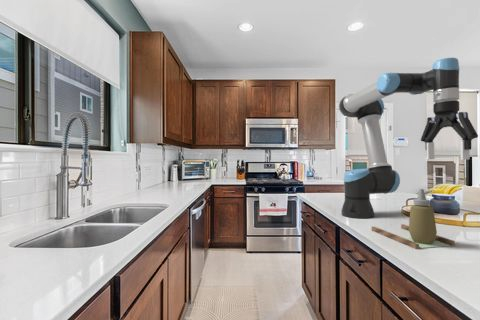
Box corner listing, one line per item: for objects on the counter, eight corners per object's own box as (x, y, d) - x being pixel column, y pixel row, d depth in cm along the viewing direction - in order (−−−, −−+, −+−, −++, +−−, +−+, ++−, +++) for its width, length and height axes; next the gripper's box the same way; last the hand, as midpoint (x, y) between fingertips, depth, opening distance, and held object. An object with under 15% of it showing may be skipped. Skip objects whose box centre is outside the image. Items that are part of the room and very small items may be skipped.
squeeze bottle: (443, 245, 85) (442, 190, 85) (418, 245, 85) (417, 191, 85) (426, 237, 93) (425, 187, 93) (403, 238, 93) (402, 188, 93)
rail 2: (401, 228, 107) (401, 224, 107) (403, 228, 107) (403, 224, 107) (451, 245, 85) (451, 241, 85) (454, 245, 85) (454, 241, 85)
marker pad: (397, 239, 93) (397, 238, 93) (424, 236, 95) (424, 236, 95) (420, 248, 84) (420, 247, 84) (450, 245, 85) (450, 245, 85)
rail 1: (371, 230, 105) (371, 226, 105) (374, 230, 105) (374, 226, 105) (415, 248, 83) (415, 244, 83) (418, 248, 83) (418, 244, 83)
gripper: (409, 108, 107) (410, 159, 108) (472, 93, 83) (472, 160, 83) (425, 108, 109) (426, 158, 109) (492, 93, 84) (492, 159, 84)
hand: (446, 159), depth 96 cm, fingers open, 13 cm apart
